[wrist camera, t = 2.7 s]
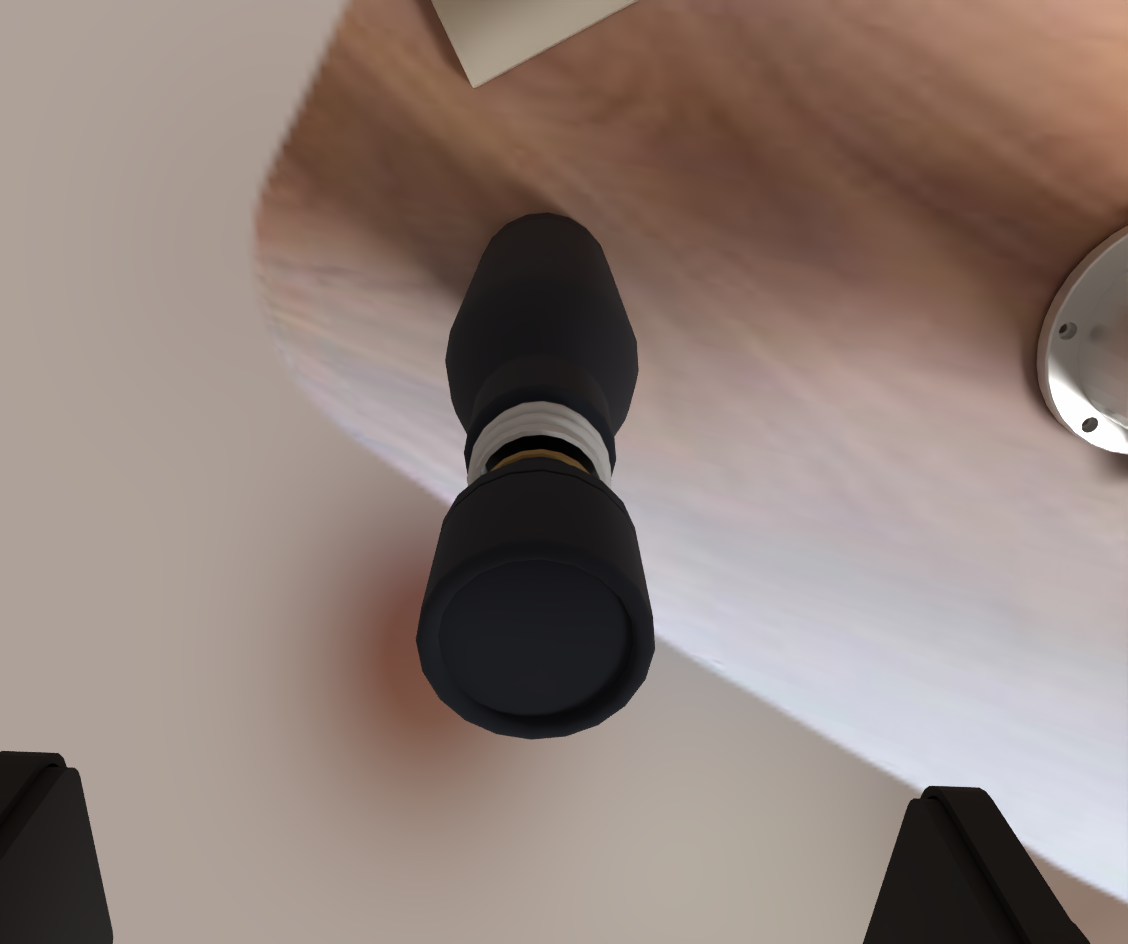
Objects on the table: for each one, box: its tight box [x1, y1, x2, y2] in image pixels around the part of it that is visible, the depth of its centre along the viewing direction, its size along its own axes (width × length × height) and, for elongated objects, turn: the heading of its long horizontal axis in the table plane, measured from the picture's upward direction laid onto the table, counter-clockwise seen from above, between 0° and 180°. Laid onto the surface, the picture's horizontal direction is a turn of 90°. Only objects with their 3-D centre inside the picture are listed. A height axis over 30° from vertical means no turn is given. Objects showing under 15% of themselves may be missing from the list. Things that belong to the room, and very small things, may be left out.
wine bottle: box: [416, 213, 655, 739], centre depth 27 cm, size 6×6×30 cm
